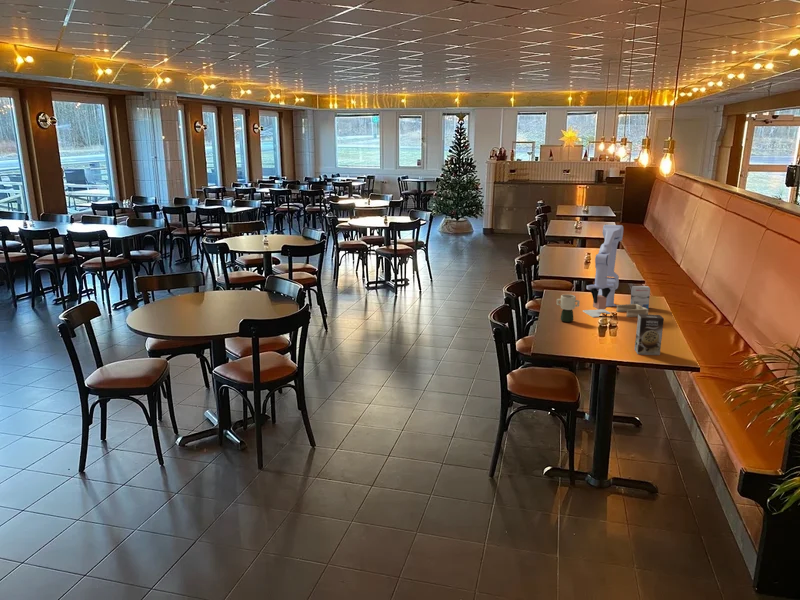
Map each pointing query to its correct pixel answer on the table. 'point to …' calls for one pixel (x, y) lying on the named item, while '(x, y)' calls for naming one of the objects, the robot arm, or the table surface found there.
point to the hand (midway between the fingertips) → (599, 302)
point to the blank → (600, 302)
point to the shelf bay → (632, 309)
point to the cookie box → (649, 334)
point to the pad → (595, 312)
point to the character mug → (567, 307)
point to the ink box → (640, 296)
